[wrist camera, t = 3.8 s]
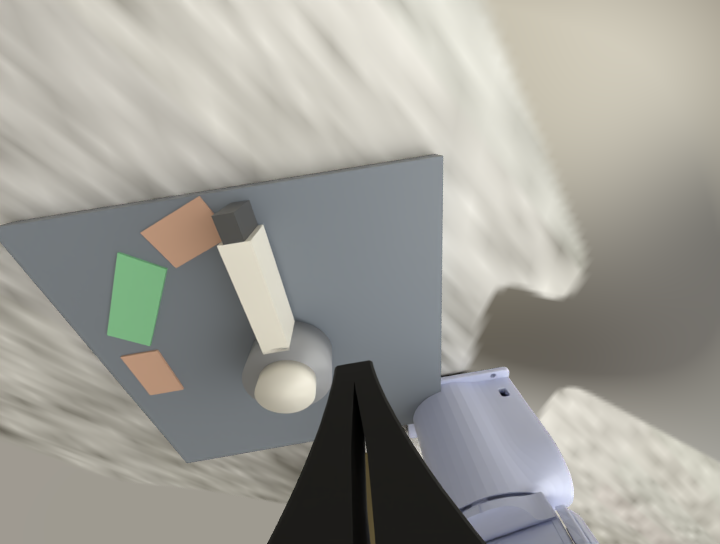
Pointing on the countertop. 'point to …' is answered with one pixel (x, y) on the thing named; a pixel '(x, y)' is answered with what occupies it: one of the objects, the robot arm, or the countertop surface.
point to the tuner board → (223, 307)
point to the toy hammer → (271, 320)
